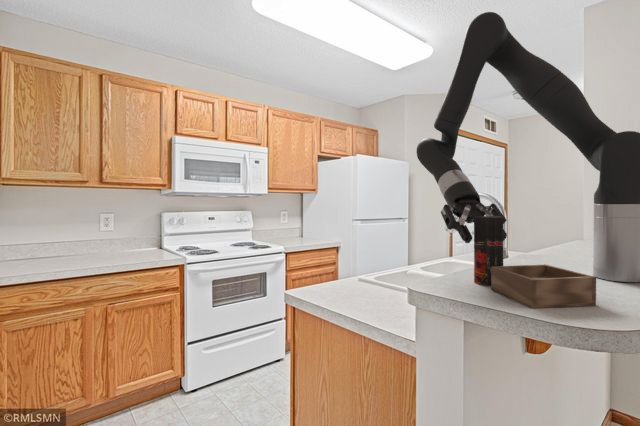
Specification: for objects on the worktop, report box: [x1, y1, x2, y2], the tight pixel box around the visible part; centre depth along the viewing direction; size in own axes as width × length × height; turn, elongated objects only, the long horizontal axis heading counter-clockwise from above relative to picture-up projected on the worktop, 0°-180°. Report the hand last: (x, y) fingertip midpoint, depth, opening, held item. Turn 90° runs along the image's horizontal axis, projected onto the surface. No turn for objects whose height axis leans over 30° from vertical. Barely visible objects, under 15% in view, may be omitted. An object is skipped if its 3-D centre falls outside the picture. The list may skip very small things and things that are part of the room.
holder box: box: [490, 263, 597, 309], centre depth 66 cm, size 12×12×5 cm
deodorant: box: [473, 215, 504, 287], centre depth 77 cm, size 6×6×15 cm
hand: (486, 240), depth 78 cm, fingers open, 8 cm apart
